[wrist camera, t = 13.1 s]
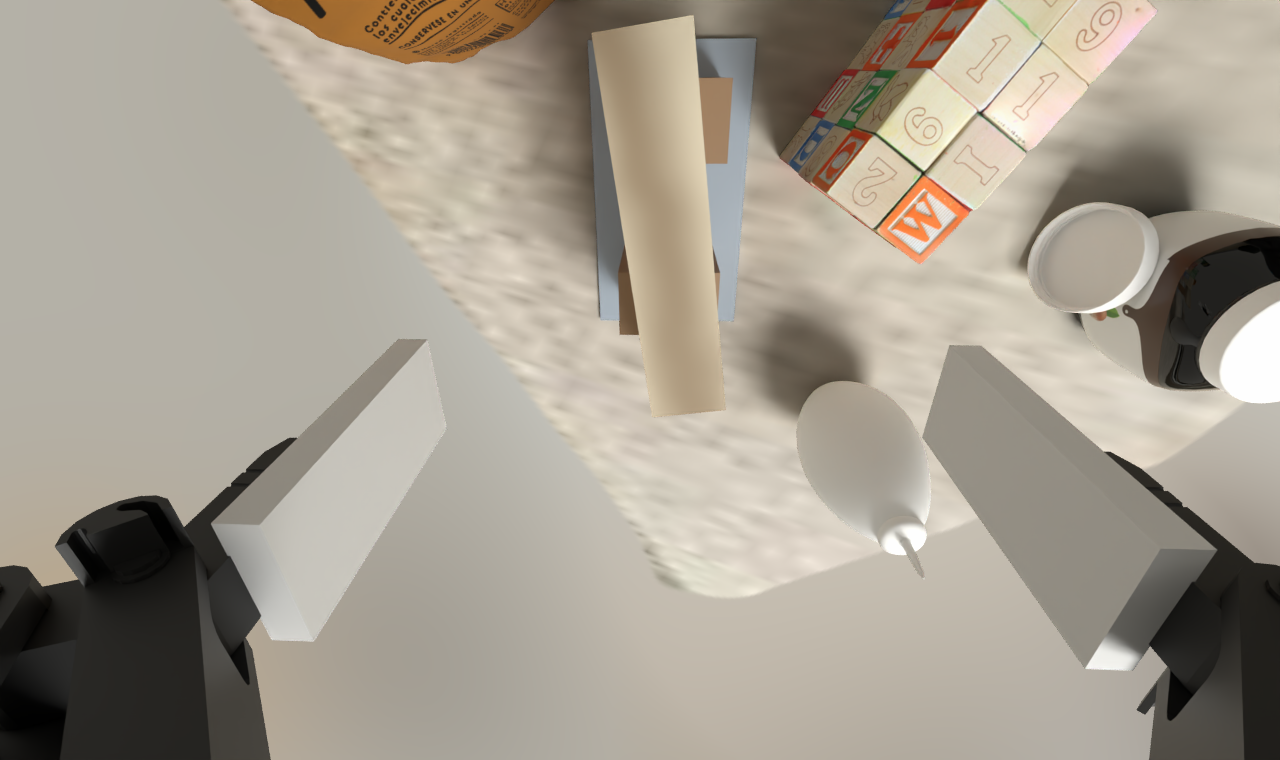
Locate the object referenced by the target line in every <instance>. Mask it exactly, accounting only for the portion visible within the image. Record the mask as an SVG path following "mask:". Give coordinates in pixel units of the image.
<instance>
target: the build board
mask: <svg viewBox="0 0 1280 760" xmlns="http://www.w3.org/2000/svg"><path fill="white" fill-rule="evenodd" d="M756 40H757V38H731V39H696V51H697V63H698V76H699V88H700V100H701V113H702V125H703V137H704V150H705V162H706V174H707V186H708V199H709V211H710V223H711V236H712V248H713V260H714V272H715V285H716V297H717V309H718V321H734V311H735V299H736V286H737V274H738V262H739V249H740V237H741V225H742V212H743V200H744V188H745V175H746V163H747V151H748V138H749V126H750V114H751V101H752V89H753V77H754V64H755V52H756ZM588 60H589V81H590V103H591V124H592V146H593V167H594V189H595V210H596V232H597V253H598V275H599V296H600V317H601V320H619V326H620V335H639V331H638V324H637V318H636V312H635V305H634V299H633V293H632V286H631V280H630V274H629V268H628V261H627V255H626V249H625V242H624V236H623V230H622V223H621V217H620V211H619V205H618V198H617V192H616V186H615V179H614V173H613V167H612V160H611V154H610V148H609V142H608V135H607V129H606V123H605V116H604V110H603V104H602V97H601V91H600V85H599V79H598V72H597V66H596V60H595V53H594V47H593V41H592V40H588Z"/></svg>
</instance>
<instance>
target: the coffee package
mask: <svg viewBox="0 0 1280 760" xmlns="http://www.w3.org/2000/svg"><path fill="white" fill-rule="evenodd" d="M251 1H253V2H254V3H256V4H258V5H260V6H262V7H263V8H265V9H266V10H268V11H269V12H271V13H273V14H276V15H279V16H282V17H285V18H287V19H290V20H291V21H293V22H295V23H297V24H299V25H302V26H304V27H305V28H307V29H309V30H310V31H311V32H313V33H314V34H315V35H316V36H317V37H319V38H322V39H325V40H329V41H331V42H334V43H336V44H339V45H342V46H346V47H352V48H356V49H359V50H363V51H365V52H368V53H370V54H373V55H378V56H382V57H385V58H388V59H391V60H395V61H399V62H401V63H404V64H410V63H414V62H422V61H430V62H448V63H456V62H460V61H463V60H465V59H467V58H469V57H472V56H474V55H475V54H477V53H478V52H479V51H480V50H481V49H483V48H485V47H487V46H489V45H491V44H493V43H495V42H498V41H502V40H506V39H510V38H512V37H514V36H516V35H517V34H519V33H520V32H521V31H523V30H524V29H525V28H527V27H528V26H529V25H530V24H531V23H532V22H533V21H534V20H535V19H536V18H537V17H538V16H539V15H540V14H541V13H542V12H543V11H544V10H545V9H546V8H547V7H548V6H549V5H550V4H551V3H552V2H553V1H554V0H251Z"/></svg>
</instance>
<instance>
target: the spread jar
mask: <svg viewBox="0 0 1280 760" xmlns="http://www.w3.org/2000/svg"><path fill="white" fill-rule="evenodd" d="M1027 271H1028V279H1029V283H1030V286H1031V288H1032V290H1033V292H1034V293H1035V294H1036V296H1037V297H1038V298H1039V299H1040V300H1041V301H1042V302H1043V303H1045V304H1046V305H1047V306H1049V307H1052V308H1054V309H1056V310H1060V311H1064V312H1073V313H1078V315H1079V318H1080V322H1081V324H1082V327H1083V329H1084V331H1085V333H1086V335H1087V337H1088V339H1089V340H1090V341H1091V343H1092V344H1093V345H1094V346H1095V347H1096V349H1097V350H1098V351H1100V352H1101V353H1102V354H1103V355H1104V356H1106V357H1107V358H1109V359H1110V360H1112V361H1113V362H1114V363H1116V364H1117V365H1119V366H1120V367H1122V368H1124V369H1125V370H1127V371H1128V372H1130V373H1131V374H1133V375H1135V376H1136V377H1138V378H1140V379H1141V380H1143V381H1145V382H1147V383H1149V384H1152V385H1154V386H1157V387H1160V388H1164V389H1168V390H1174V391H1211V390H1222V391H1224V392H1226V393H1228V394H1229V395H1231V396H1233V397H1235V398H1237V399H1239V400H1242V401H1246V402H1250V403H1269V402H1278V401H1280V226H1278V225H1274V224H1271V223H1268V222H1264V221H1260V220H1256V219H1252V218H1248V217H1244V216H1240V215H1235V214H1230V213H1225V212H1217V211H1207V210H1199V211H1180V212H1172V213H1167V214H1162V215H1158V216H1154V217H1150V218H1147V217H1146V216H1145V215H1144V214H1142V213H1141V212H1139V211H1137V210H1135V209H1133V208H1131V207H1127V206H1123V205H1118V204H1113V203H1104V202H1093V203H1086V204H1082V205H1079V206H1076V207H1073V208H1071V209H1069V210H1067V211H1065V212H1063V213H1061V214H1060V215H1059V216H1057V217H1056V218H1054V219H1053V220H1052V221H1051V222H1050V223H1049V224H1048V225H1047V226H1046V227H1045V228H1044V229H1043V230H1042V231H1041V233H1040V234H1039V235H1038V237H1037V238H1036V240H1035V242H1034V244H1033V246H1032V248H1031V251H1030V254H1029V258H1028V265H1027Z"/></svg>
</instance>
